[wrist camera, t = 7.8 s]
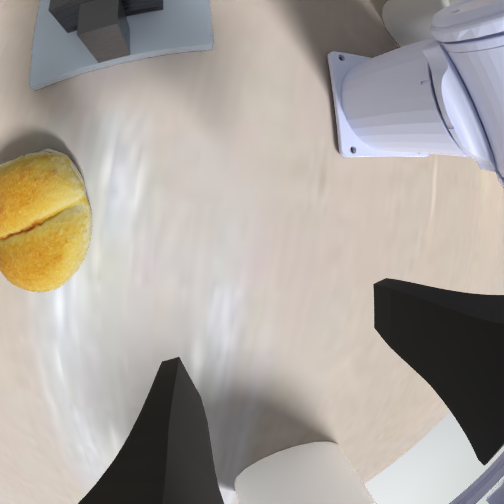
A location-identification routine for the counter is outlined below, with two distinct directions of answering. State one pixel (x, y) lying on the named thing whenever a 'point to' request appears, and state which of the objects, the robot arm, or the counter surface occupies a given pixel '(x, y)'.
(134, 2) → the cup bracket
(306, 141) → the counter surface
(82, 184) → the bread roll
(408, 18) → the lumpy-topped squat cylinder
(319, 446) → the canister
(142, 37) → the mounting board
